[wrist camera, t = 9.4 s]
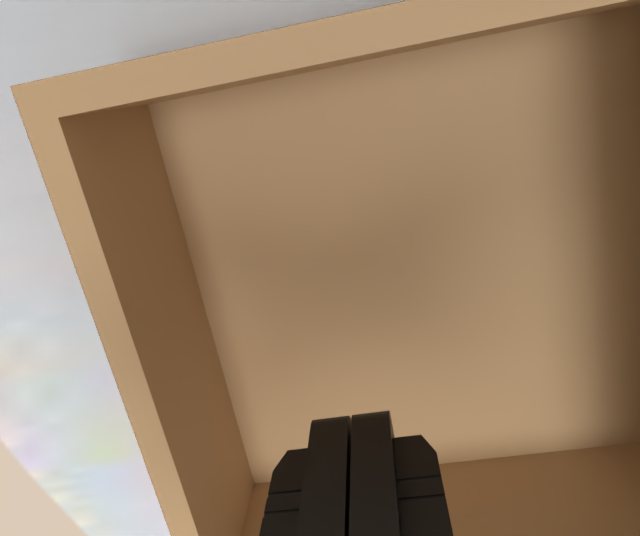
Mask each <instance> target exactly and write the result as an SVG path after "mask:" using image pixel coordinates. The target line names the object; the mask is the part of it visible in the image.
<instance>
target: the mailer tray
mask: <svg viewBox="0 0 640 536" xmlns="http://www.w3.org/2000/svg"><path fill="white" fill-rule="evenodd" d="M10 87H11V90H12V93H13V96H14V98H15V101H16V104H17V107H18V110H19V112H20V115H21V118H22V121H23V124H24V126H25V129H26V132H27V135H28V138H29V140H30V143H31V146H32V149H33V152H34V154H35V157H36V160H37V163H38V165H39V168H40V171H41V174H42V177H43V179H44V182H45V185H46V188H47V191H48V193H49V196H50V199H51V202H52V205H53V207H54V210H55V213H56V216H57V219H58V221H59V224H60V227H61V230H62V233H63V235H64V238H65V241H66V244H67V247H68V249H69V252H70V255H71V258H72V261H73V263H74V266H75V269H76V272H77V275H78V277H79V280H80V283H81V286H82V289H83V291H84V294H85V297H86V300H87V302H88V305H89V308H90V311H91V314H92V316H93V319H94V322H95V325H96V328H97V330H98V333H99V336H100V339H101V342H102V344H103V347H104V350H105V353H106V356H107V358H108V361H109V364H110V367H111V370H112V372H113V375H114V378H115V381H116V384H117V386H118V389H119V392H120V395H121V398H122V400H123V403H124V406H125V409H126V412H127V414H128V417H129V420H130V423H131V426H132V428H133V431H134V434H135V437H136V439H137V442H138V445H139V448H140V451H141V453H142V456H143V459H144V462H145V465H146V467H147V470H148V473H149V476H150V479H151V481H152V484H153V487H154V490H155V493H156V495H157V498H158V501H159V504H160V507H161V509H162V512H163V515H164V518H165V521H166V523H167V526H168V529H169V532H170V535H171V536H259V533H260V528H261V524H262V519H263V517H264V510H265V505H266V500H267V498H268V491H269V486H270V482H271V477H272V472H273V470H274V468H275V467H276V466H277V464H278V463H279V462H280V460H281V459H282V457H283V456H284V455H285V453H286V452H287V450H295V449H303V448H308V441H309V434H310V426H311V422H312V420H317V419H325V418H333V417H341V416H350V418H352V415H356V414H364V413H372V412H380V411H388V410H389V411H390V415H391V420H392V425H393V431H394V437H395V438H396V437H404V436H413V435H422V436H423V437H424V438H425V439H426V441H427V442H428V443H429V444H430V445H431V446H432V447H433V449H434V450H435V451H436V452H437V457H438V462H439V467H440V472H441V477H442V482H443V487H444V491H445V497H446V501H447V506H448V511H449V516H450V521H451V526H452V531H453V536H640V0H407V1H402V2H398V3H393V4H388V5H384V6H379V7H375V8H370V9H365V10H361V11H356V12H351V13H347V14H342V15H338V16H333V17H328V18H324V19H319V20H314V21H310V22H305V23H301V24H296V25H291V26H287V27H282V28H277V29H273V30H268V31H264V32H259V33H254V34H250V35H245V36H240V37H236V38H231V39H227V40H222V41H217V42H213V43H208V44H203V45H199V46H194V47H190V48H185V49H180V50H176V51H171V52H166V53H162V54H157V55H153V56H148V57H143V58H139V59H134V60H129V61H125V62H120V63H115V64H111V65H106V66H102V67H97V68H92V69H88V70H83V71H78V72H74V73H69V74H65V75H60V76H55V77H51V78H46V79H41V80H37V81H32V82H28V83H23V84H18V85H14V86H10Z"/></svg>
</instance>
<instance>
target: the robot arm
mask: <svg viewBox="0 0 640 536" xmlns="http://www.w3.org/2000/svg"><path fill="white" fill-rule="evenodd" d="M259 536H453V531H452V526H451V521H450V516H449V511H448V506H447V501H446V497H445V491H444V487H443V482H442V477H441V472H440V467H439V462H438V457H437V452H436V451H435V450H434V449H433V447H432V446H431V445H430V444H429V443H428V442H427V441H426V439H425V438H424V437H423V436H422V435H413V436H404V437H396V438H395V437H394V431H393V425H392V420H391V415H390V411H389V410H388V411H380V412H372V413H364V414H356V415H352V418H350V416H341V417H333V418H325V419H317V420H312V422H311V426H310V434H309V441H308V448H303V449H295V450H287V452H286V453H285V455H284V456H283V457H282V459H281V460H280V462H279V463H278V464H277V466H276V467H275V468H274V470H273V472H272V477H271V482H270V486H269V491H268V498H267V500H266V505H265V510H264V517H263V519H262V524H261V528H260V533H259Z"/></svg>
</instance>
